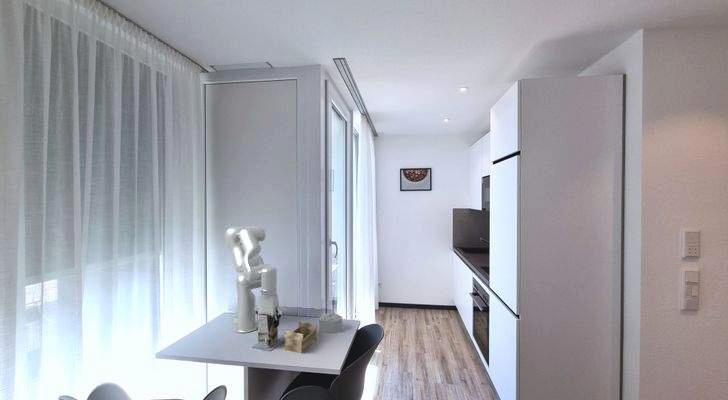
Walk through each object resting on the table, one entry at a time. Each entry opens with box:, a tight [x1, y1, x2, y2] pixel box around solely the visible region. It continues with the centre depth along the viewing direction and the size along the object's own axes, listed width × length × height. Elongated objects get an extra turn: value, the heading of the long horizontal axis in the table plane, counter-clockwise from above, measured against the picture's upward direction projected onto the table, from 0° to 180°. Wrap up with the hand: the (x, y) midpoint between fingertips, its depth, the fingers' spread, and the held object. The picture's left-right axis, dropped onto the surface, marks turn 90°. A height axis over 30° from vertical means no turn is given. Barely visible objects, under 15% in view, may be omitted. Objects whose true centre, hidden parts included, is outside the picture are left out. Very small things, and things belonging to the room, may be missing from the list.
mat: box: [251, 339, 285, 352], centre depth 151 cm, size 11×11×1 cm
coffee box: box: [257, 314, 279, 348], centre depth 152 cm, size 9×6×16 cm
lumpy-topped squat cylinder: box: [318, 311, 343, 335], centre depth 169 cm, size 10×13×9 cm
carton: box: [284, 320, 317, 354], centre depth 151 cm, size 10×13×9 cm
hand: (268, 325), depth 151 cm, fingers open, 9 cm apart
